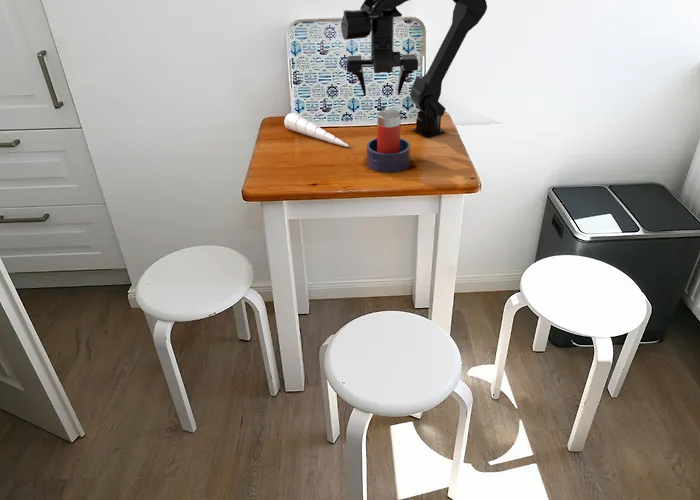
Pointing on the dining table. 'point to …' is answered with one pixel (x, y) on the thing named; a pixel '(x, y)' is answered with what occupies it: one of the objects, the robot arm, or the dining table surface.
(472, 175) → the dining table surface
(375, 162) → the pot
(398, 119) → the tin
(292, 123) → the unicorn horn
